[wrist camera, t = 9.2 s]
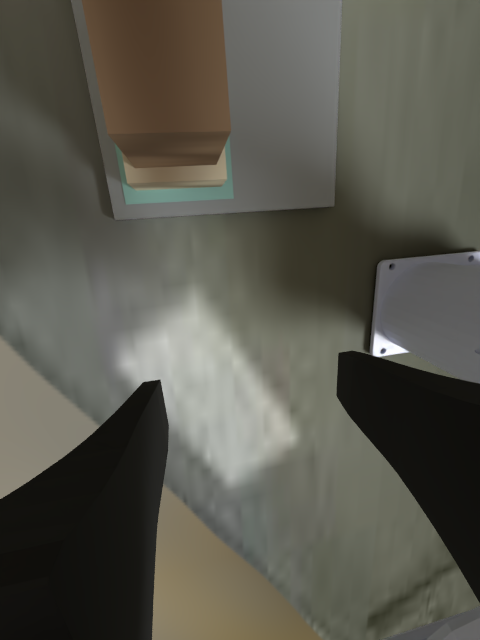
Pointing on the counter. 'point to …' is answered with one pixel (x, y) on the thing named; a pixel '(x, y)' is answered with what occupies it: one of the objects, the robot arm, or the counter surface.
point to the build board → (254, 114)
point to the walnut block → (162, 78)
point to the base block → (176, 176)
